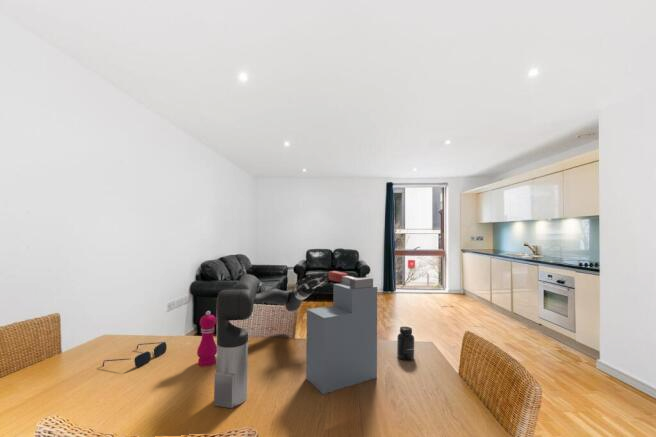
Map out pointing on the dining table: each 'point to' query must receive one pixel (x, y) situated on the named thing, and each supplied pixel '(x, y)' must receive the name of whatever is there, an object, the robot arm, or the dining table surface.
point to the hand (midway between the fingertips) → (318, 277)
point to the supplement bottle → (405, 344)
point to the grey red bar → (351, 280)
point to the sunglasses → (146, 355)
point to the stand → (342, 339)
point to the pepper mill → (207, 341)
